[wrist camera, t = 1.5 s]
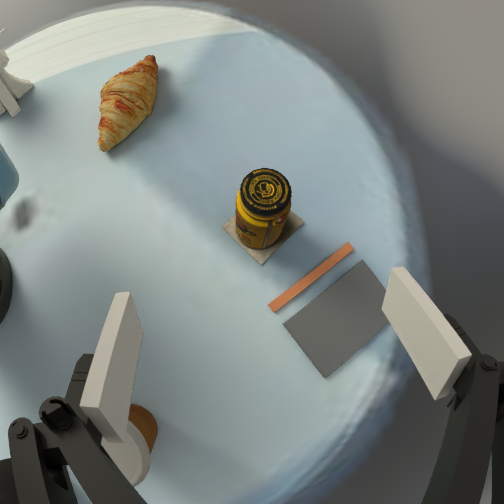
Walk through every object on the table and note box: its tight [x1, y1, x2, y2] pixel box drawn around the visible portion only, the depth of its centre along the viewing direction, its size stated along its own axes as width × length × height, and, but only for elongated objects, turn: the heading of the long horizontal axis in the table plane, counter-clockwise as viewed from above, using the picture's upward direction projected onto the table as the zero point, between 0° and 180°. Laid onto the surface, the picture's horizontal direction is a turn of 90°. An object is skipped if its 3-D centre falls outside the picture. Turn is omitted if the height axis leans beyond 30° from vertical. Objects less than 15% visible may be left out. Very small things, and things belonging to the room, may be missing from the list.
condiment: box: [222, 168, 304, 264], centre depth 38 cm, size 7×8×12 cm
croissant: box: [97, 55, 158, 152], centre depth 45 cm, size 21×10×8 cm, turn 169°
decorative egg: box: [0, 458, 19, 504], centre depth 24 cm, size 12×12×15 cm
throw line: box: [269, 242, 353, 312], centre depth 42 cm, size 1×14×1 cm, turn 127°
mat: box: [283, 260, 389, 378], centre depth 40 cm, size 9×14×1 cm, turn 127°
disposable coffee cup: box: [101, 404, 158, 487], centre depth 30 cm, size 10×10×12 cm
